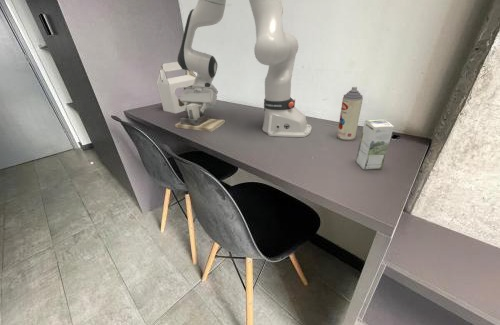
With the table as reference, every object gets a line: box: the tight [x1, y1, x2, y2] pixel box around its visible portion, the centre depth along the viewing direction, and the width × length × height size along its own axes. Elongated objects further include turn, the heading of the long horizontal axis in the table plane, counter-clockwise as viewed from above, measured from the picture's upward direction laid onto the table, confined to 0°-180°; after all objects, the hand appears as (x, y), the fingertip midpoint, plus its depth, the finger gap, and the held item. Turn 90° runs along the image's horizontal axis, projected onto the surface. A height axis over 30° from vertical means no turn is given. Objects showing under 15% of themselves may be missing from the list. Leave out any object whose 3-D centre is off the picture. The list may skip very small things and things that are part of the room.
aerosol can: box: [336, 86, 364, 142], centre depth 85 cm, size 7×7×20 cm
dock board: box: [174, 112, 226, 133], centre depth 113 cm, size 22×13×4 cm, turn 66°
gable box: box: [156, 61, 202, 115], centre depth 139 cm, size 22×13×28 cm, turn 142°
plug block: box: [186, 103, 200, 119], centre depth 112 cm, size 4×4×9 cm
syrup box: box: [355, 119, 395, 171], centre depth 67 cm, size 6×6×14 cm
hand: (193, 111), depth 112 cm, fingers open, 8 cm apart
